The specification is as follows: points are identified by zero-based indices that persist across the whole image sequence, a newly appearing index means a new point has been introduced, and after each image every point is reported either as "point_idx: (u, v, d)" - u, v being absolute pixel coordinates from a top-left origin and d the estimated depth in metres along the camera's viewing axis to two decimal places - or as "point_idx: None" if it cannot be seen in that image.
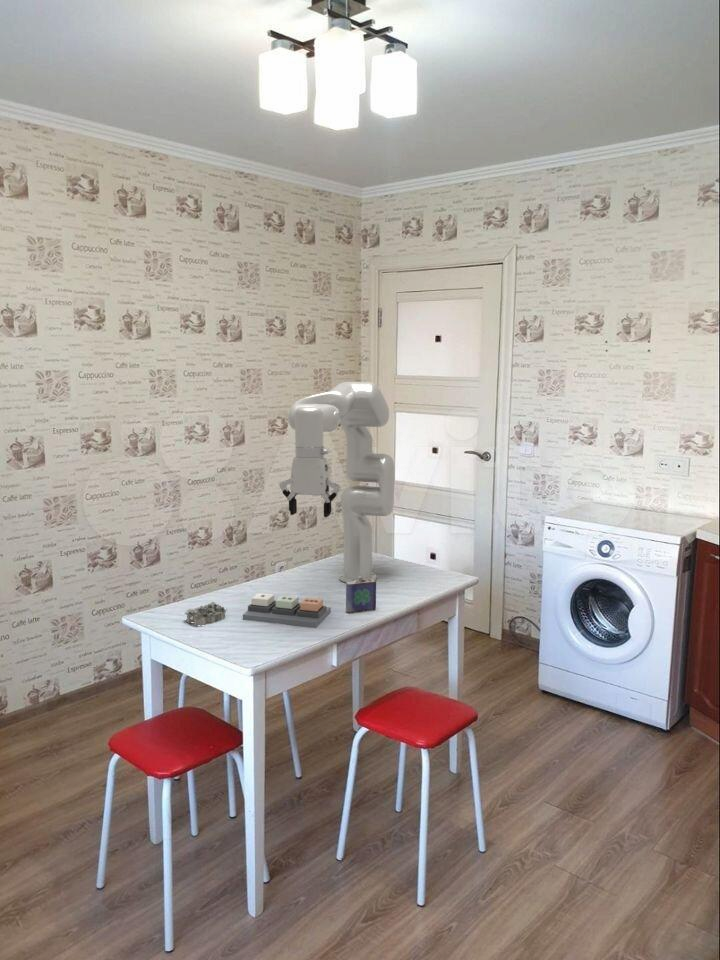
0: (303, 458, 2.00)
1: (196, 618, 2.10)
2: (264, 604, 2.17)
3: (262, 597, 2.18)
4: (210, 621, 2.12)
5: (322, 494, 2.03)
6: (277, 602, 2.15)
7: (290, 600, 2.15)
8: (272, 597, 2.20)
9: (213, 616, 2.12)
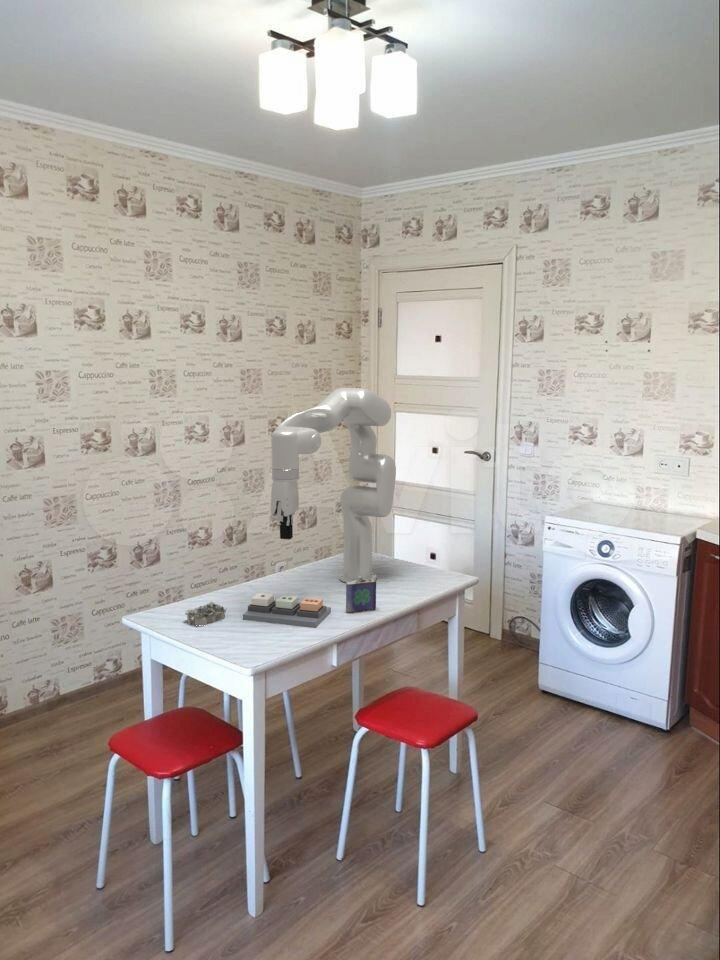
0: (297, 479, 2.10)
1: (197, 618, 2.09)
2: (264, 604, 2.17)
3: (262, 597, 2.18)
4: (211, 621, 2.13)
5: (292, 514, 2.14)
6: (277, 602, 2.15)
7: (290, 600, 2.15)
8: (272, 597, 2.20)
9: (214, 616, 2.12)
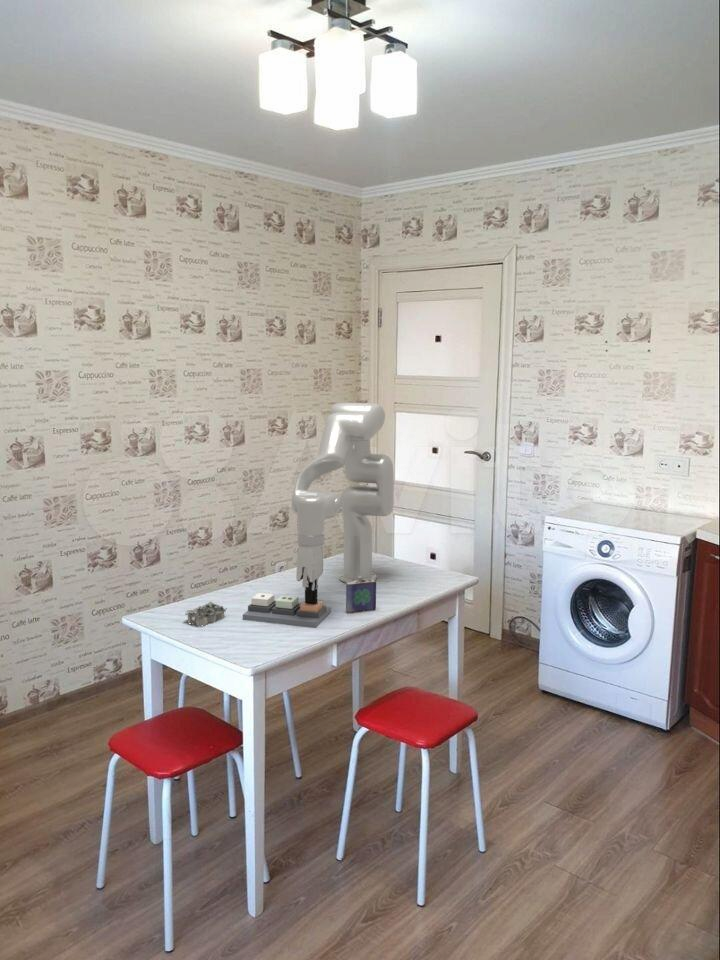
0: (323, 544, 2.11)
1: (198, 618, 2.09)
2: (264, 604, 2.17)
3: (262, 597, 2.18)
4: (211, 621, 2.13)
5: (317, 579, 2.15)
6: (277, 602, 2.15)
7: (290, 600, 2.15)
8: (272, 597, 2.20)
9: (214, 616, 2.13)
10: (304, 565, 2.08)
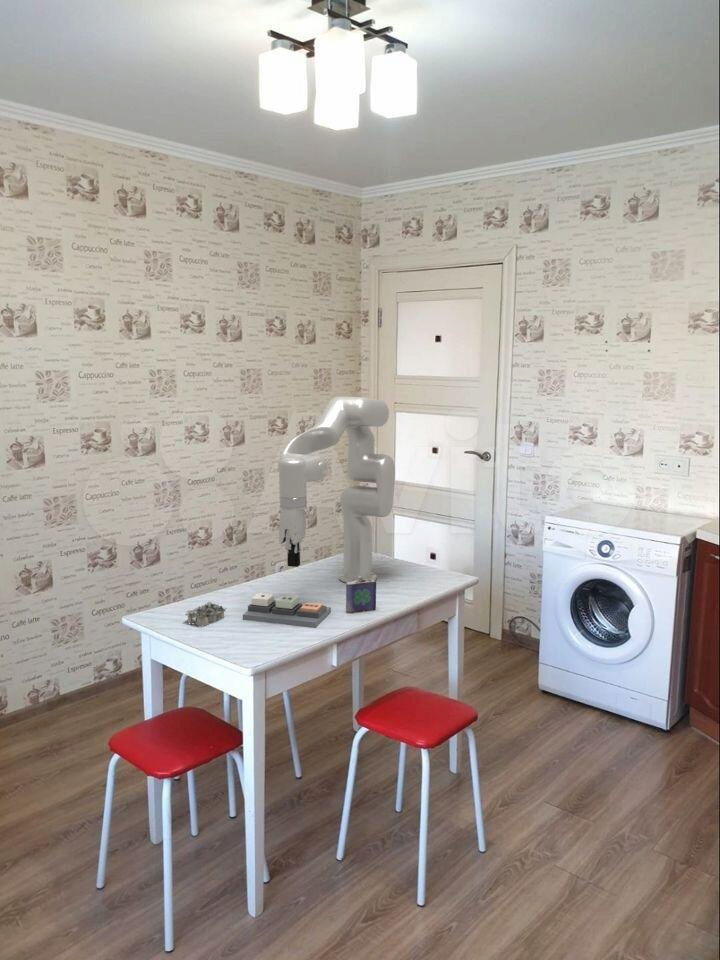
0: (305, 507, 2.11)
1: (199, 618, 2.09)
2: (264, 604, 2.17)
3: (262, 597, 2.18)
4: (212, 621, 2.13)
5: (299, 542, 2.15)
6: (277, 602, 2.15)
7: (290, 600, 2.15)
8: (272, 597, 2.20)
9: (215, 615, 2.13)
10: (287, 527, 2.08)
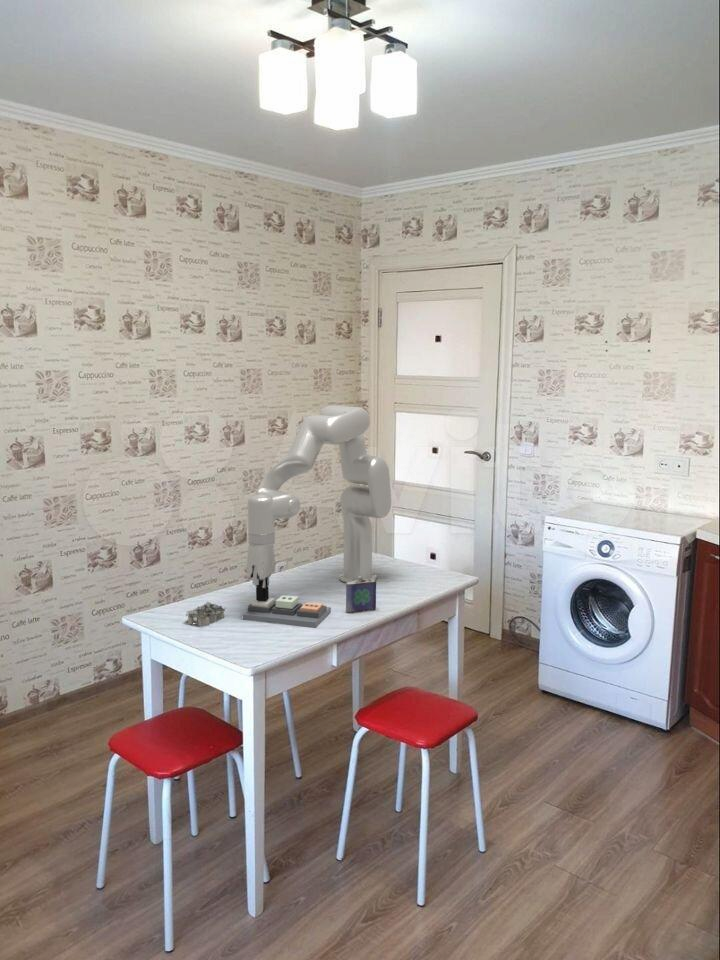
0: (273, 543, 2.15)
1: (201, 618, 2.09)
2: None
3: (262, 601, 2.18)
4: (212, 620, 2.13)
5: (268, 577, 2.19)
6: (277, 602, 2.15)
7: (290, 600, 2.15)
8: (272, 601, 2.20)
9: (215, 615, 2.13)
10: (254, 563, 2.13)
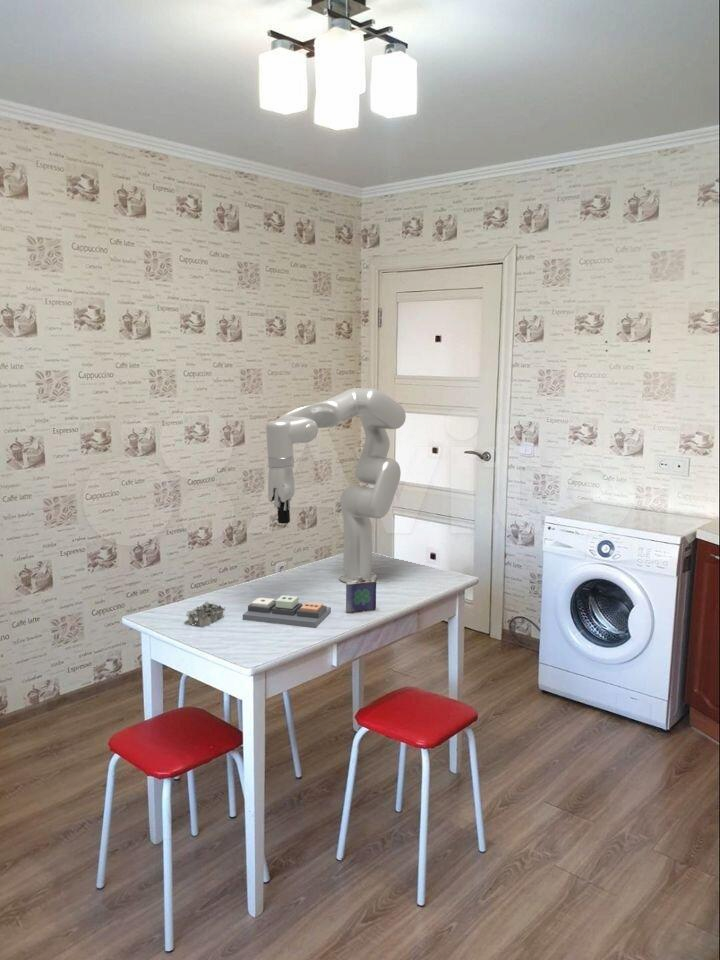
0: (292, 466, 2.21)
1: (202, 618, 2.09)
2: None
3: (262, 602, 2.18)
4: (213, 620, 2.13)
5: (288, 500, 2.26)
6: (277, 602, 2.15)
7: (290, 600, 2.15)
8: (272, 602, 2.20)
9: (216, 615, 2.13)
10: (275, 486, 2.19)
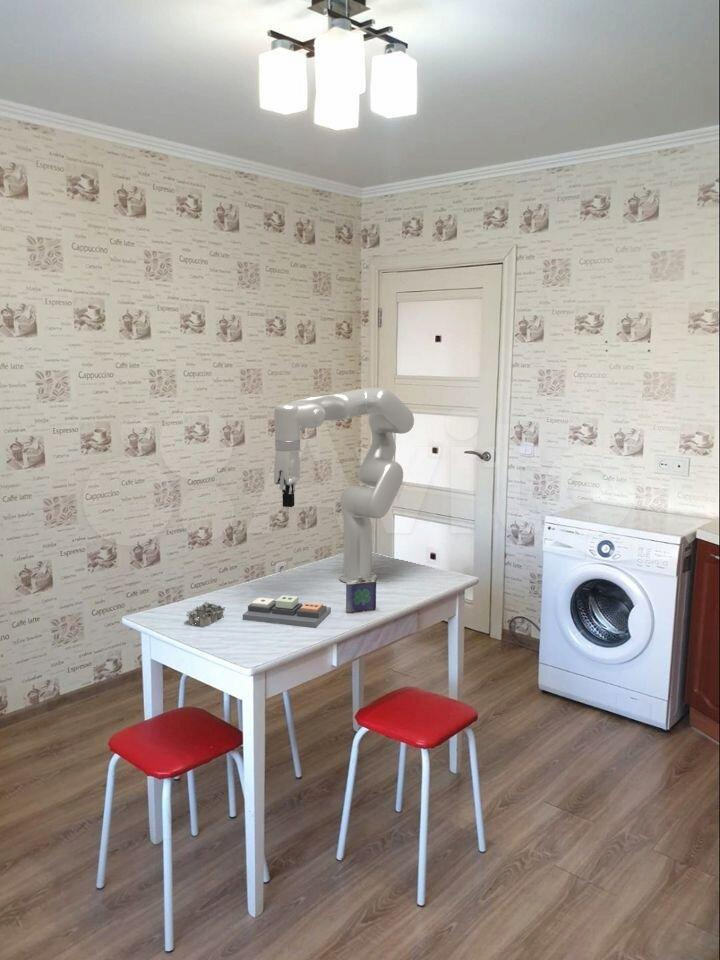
0: (298, 450, 2.24)
1: (202, 618, 2.09)
2: None
3: (262, 602, 2.18)
4: (213, 620, 2.13)
5: (294, 484, 2.28)
6: (277, 602, 2.15)
7: (290, 600, 2.15)
8: (272, 602, 2.20)
9: (216, 615, 2.13)
10: (281, 468, 2.22)
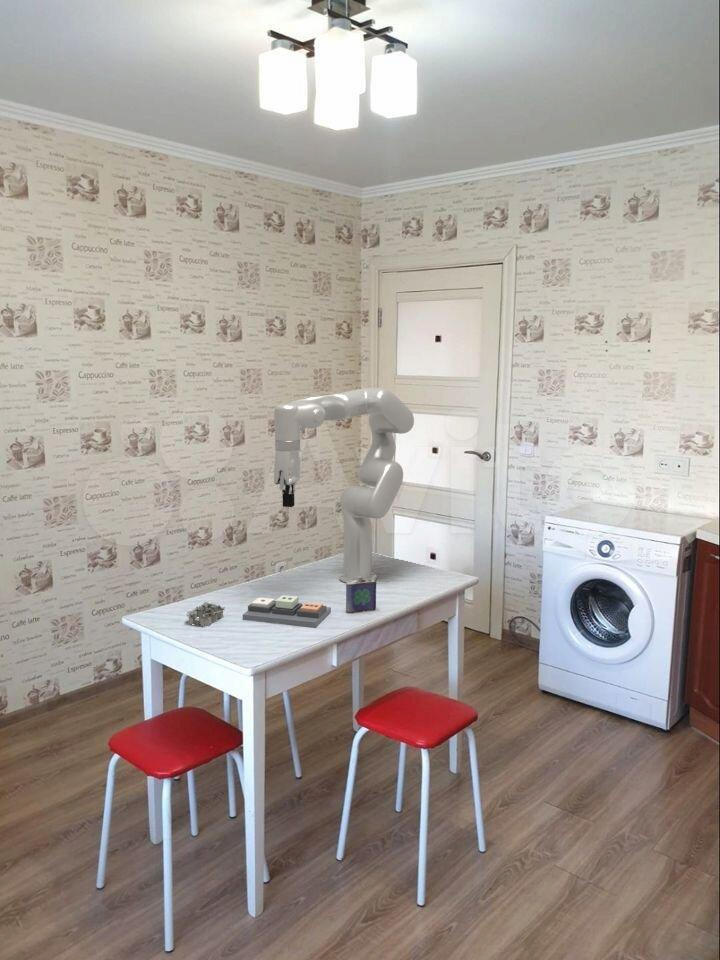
0: (298, 450, 2.24)
1: (203, 618, 2.09)
2: None
3: (262, 602, 2.18)
4: (213, 620, 2.13)
5: (294, 484, 2.28)
6: (277, 602, 2.15)
7: (290, 600, 2.15)
8: (272, 602, 2.20)
9: (216, 615, 2.13)
10: (281, 468, 2.22)
